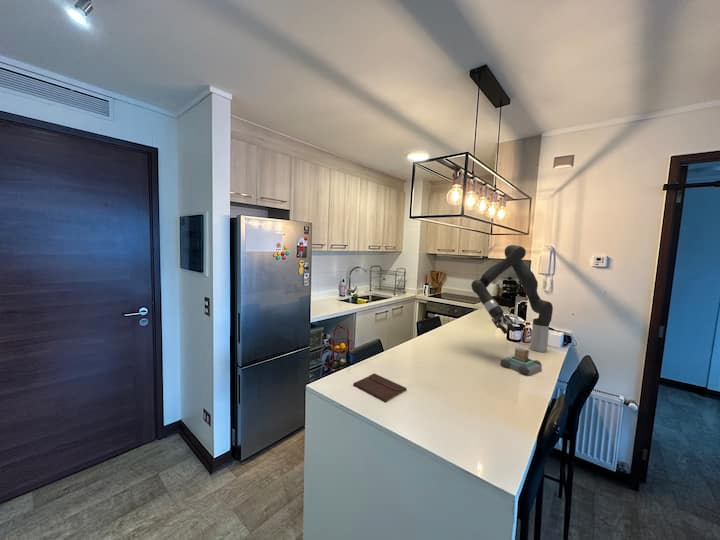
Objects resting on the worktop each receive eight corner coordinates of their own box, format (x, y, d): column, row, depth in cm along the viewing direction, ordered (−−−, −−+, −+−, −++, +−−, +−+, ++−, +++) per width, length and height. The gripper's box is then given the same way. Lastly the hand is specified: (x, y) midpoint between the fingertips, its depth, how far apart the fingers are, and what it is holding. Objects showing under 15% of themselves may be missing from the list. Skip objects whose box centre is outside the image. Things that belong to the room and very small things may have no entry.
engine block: (518, 360, 166) (519, 346, 165) (527, 363, 162) (529, 349, 161) (514, 361, 163) (515, 347, 163) (523, 365, 159) (524, 350, 159)
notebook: (385, 403, 123) (385, 399, 122) (353, 386, 136) (353, 382, 136) (406, 391, 133) (406, 387, 133) (374, 376, 147) (374, 372, 147)
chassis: (513, 359, 174) (514, 351, 174) (542, 370, 161) (543, 361, 160) (499, 365, 165) (499, 356, 165) (528, 376, 152) (529, 367, 152)
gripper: (491, 306, 169) (508, 330, 161) (504, 304, 177) (522, 327, 169) (482, 313, 174) (498, 337, 166) (495, 310, 182) (512, 333, 174)
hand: (510, 332), depth 167 cm, fingers open, 8 cm apart
